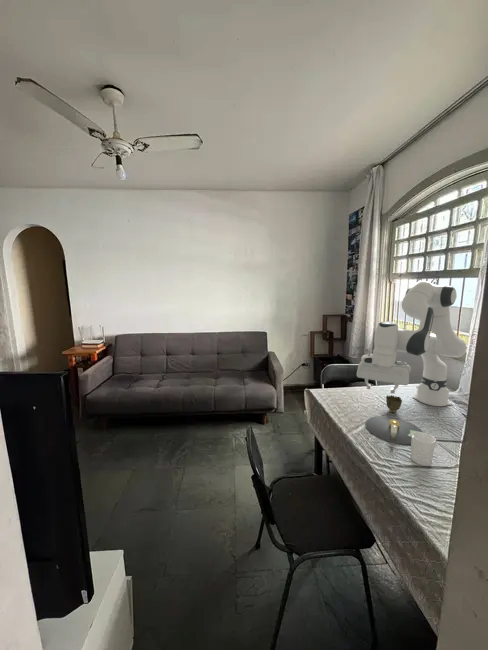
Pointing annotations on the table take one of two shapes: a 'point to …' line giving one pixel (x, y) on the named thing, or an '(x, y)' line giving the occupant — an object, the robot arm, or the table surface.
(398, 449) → the table surface
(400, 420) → the dial
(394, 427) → the needle
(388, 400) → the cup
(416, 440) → the white cup
